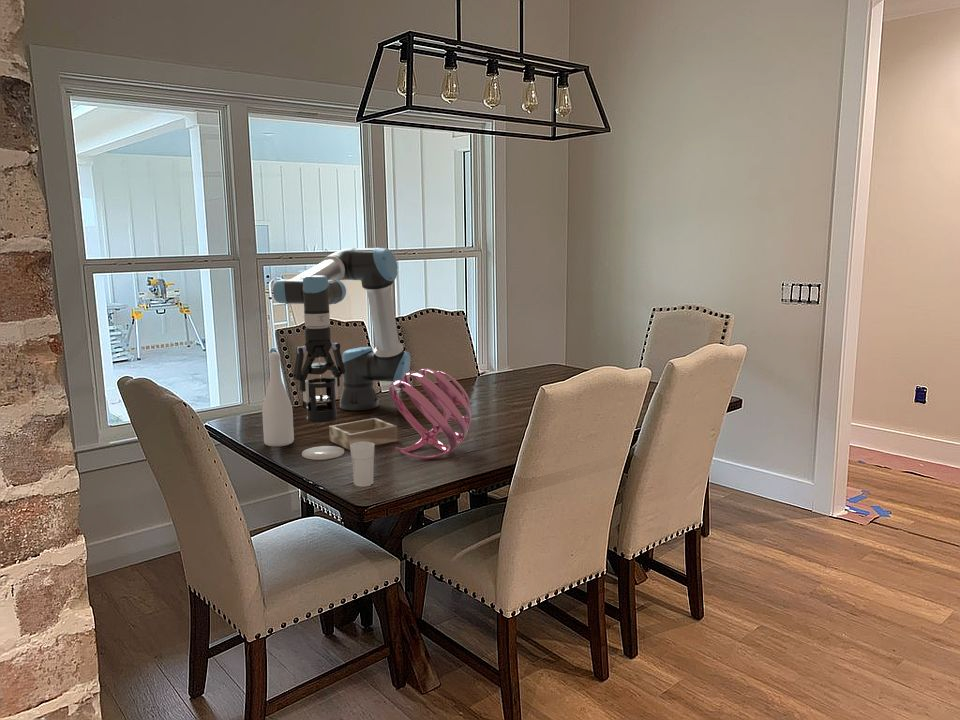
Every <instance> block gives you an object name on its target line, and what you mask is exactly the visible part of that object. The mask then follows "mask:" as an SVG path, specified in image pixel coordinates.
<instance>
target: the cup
mask: <svg viewBox="0 0 960 720" xmlns="http://www.w3.org/2000/svg"><path fill="white" fill-rule="evenodd" d="M349 451H350V457H351V463H352V464H351V465H352V474H353V475H352V476H353V485H355V487H359V488H365V487H370V486H371V484H372V485H374V468H375V467H374V463H375V462H374V459H375V446H374V443H372V442H356V443H353V444H351V445H350V450H349Z"/></svg>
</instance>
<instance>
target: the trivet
mask: <svg viewBox="0 0 960 720" xmlns="http://www.w3.org/2000/svg"><path fill="white" fill-rule="evenodd" d="M343 455H345V448H344V447H341V446H335V445H321V446H313V447H310V448H307V449H304V450H302V452H301V457H302V458H303V459H304V458H305V459H307V460H313V461H323V460H331V459H336V458H339V457H341V456H343Z"/></svg>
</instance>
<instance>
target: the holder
mask: <svg viewBox="0 0 960 720" xmlns="http://www.w3.org/2000/svg"><path fill="white" fill-rule="evenodd" d="M328 427H329V428H328V429H329V431H328V434H329V441H330V442H332V443H333V444H335V445H338V446H339V447H341V448H343V449H346V450H349V451H351V450H350V445H351V444H353V443H356V442H372V443H374V447H375V446H379V445H383V444H384V445H385V444H388V443H389V444H390V443H393V442H398V426H397V425H395V424H392V423H390V422H387V421H384V420H383V419H380V418H377V417H373V418H371V417H370V418H367V419H361V420H357V421H356V420H355V421H350V422H345V423H339V424H333V425H329V426H328Z"/></svg>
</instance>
